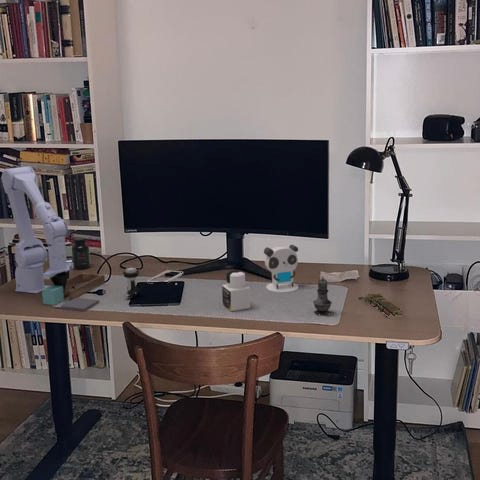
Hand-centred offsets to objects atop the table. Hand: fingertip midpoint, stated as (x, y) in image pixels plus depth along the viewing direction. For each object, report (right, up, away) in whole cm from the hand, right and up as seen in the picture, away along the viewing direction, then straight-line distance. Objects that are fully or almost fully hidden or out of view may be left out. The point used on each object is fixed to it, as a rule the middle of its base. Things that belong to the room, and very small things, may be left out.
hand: (60, 293), depth 229 cm
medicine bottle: (+61, -4, -11) cm, 62 cm away
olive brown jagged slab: (+108, -4, -14) cm, 109 cm away
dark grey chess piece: (+88, -5, -18) cm, 90 cm away
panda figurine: (+77, +1, +8) cm, 77 cm away
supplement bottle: (-2, +7, +38) cm, 38 cm away
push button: (+24, -1, 0) cm, 24 cm away
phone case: (+34, +3, +21) cm, 40 cm away
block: (-1, -3, -4) cm, 5 cm away
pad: (+9, -3, -8) cm, 12 cm away
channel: (+3, +1, +9) cm, 10 cm away
